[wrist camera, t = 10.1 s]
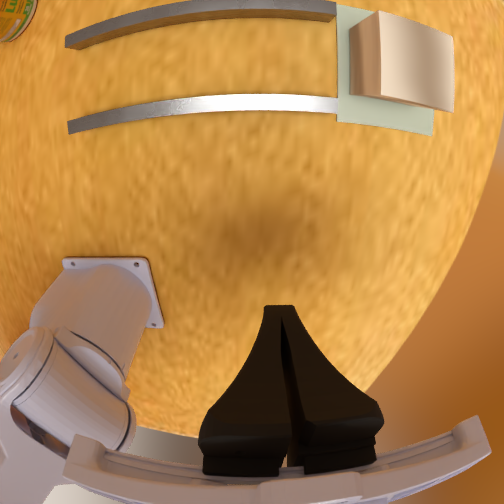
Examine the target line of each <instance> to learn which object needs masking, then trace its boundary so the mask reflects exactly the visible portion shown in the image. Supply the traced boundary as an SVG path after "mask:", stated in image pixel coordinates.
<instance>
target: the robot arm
mask: <svg viewBox="0 0 504 504" xmlns="http://www.w3.org/2000/svg"><path fill="white" fill-rule="evenodd" d="M73 262H74V263H75V264H74V263H73ZM135 262H137V263H139V265H137V264H136V263H135ZM62 264H63V267H64V270H63V271H62V272H61V273H60V275H59V276H58V277H57V278H56V279H55V281H54V282H53V283H52V284H51V285H50V287H49V288H48V289H47V290H46V292H45V293H44V294H43V295H42V297H41V298H40V299H39V301H38V302H37V303H36V305H35V306H34V308H33V311H32V314H31V318H30V325H29V329H28V330H27V331H25V332H24V333H23V334H22V335H21V336H20V337H19V338H18V339H17V340H16V341H15V342H14V343H13V344H12V345H11V347H10V348H9V349H8V351H7V352H6V354H5V355H4V357H3V358H2V360H1V362H0V504H42V503H43V502H44V500H45V499H46V498H47V496H48V495H49V493H50V492H51V491H52V489H53V488H54V486H56V485H63V484H76V485H78V486H80V487H82V488H84V489H86V490H88V491H90V492H93V493H96V494H99V495H102V496H104V497H107V498H110V499H113V500H117V501H120V502H123V503H126V504H388V502H391V501H394V500H397V499H400V498H403V497H406V496H408V495H411V494H414V493H417V492H419V491H421V490H424V489H426V488H429V487H431V486H433V485H436V484H438V483H440V482H442V481H445V480H446V479H449V478H451V477H453V476H455V475H457V474H459V473H461V472H463V471H464V470H466V469H468V468H469V467H471V466H473V465H474V464H476V463H477V462H479V461H480V460H482V459H483V458H485V457H486V456H487V455H489V454H490V453H491V449H490V446H489V443H488V440H487V438H486V435H485V432H484V430H483V427H482V425H481V422H480V420H479V417H478V415H476V416H473V417H471V418H469V419H467V420H464V421H462V422H461V423H459V424H458V425H456V426H455V427H454V428H453V429H452V430H451V431H449V432H446V433H444V434H441V435H439V436H436V437H433V438H430V439H428V440H425V441H422V442H419V443H415V444H412V445H409V446H406V447H402V448H399V449H395V450H392V451H388V452H384V453H380V454H376V453H375V449H374V445H375V444H376V441H375V437H374V436H375V435H376V434H377V432H378V431H379V430H380V429H381V428H382V426H383V424H384V418H383V415H382V412H381V410H380V408H379V405H378V404H377V401H375V400H374V399H372V398H370V397H369V396H368V395H366V394H365V393H363V392H362V391H361V390H359V389H358V388H357V387H355V386H354V385H353V384H352V383H351V382H350V381H348V380H347V379H346V378H345V377H344V376H343V375H342V374H341V373H340V372H339V371H338V370H337V369H336V368H335V367H334V366H333V365H332V364H331V363H330V362H329V361H328V359H327V358H326V357H325V356H324V355H323V353H322V352H321V351H320V349H319V348H318V347H317V345H316V344H315V343H314V341H313V340H312V338H311V337H310V335H309V334H308V332H307V330H306V329H305V327H304V325H303V324H302V322H301V320H300V318H299V316H298V314H297V312H296V310H295V307H294V306H293V305H266V306H265V307H264V314H263V319H262V323H261V327H260V330H259V333H258V336H257V338H256V341H255V343H254V345H253V348H252V350H251V352H250V354H249V356H248V358H247V360H246V362H245V363H244V365H243V367H242V369H241V370H240V372H239V373H238V375H237V376H236V378H235V379H234V381H233V382H232V383H231V385H230V386H229V387H228V389H227V390H226V391H225V392H224V394H223V395H222V396H221V397H220V398H219V399H218V400H217V402H216V403H215V404H214V405H213V406H212V407H211V408H210V409H209V410H208V412H207V414H206V416H205V418H204V420H203V422H202V425H201V428H200V432H199V439H198V446H199V447H200V449H201V451H202V453H203V455H204V457H203V466H199V465H189V464H181V463H173V462H168V461H162V460H156V459H150V458H145V457H141V456H136V455H131V454H127V453H125V452H126V451H127V450H128V449H129V447H130V445H131V443H132V441H133V438H134V436H135V432H136V415H135V412H134V409H133V408H132V406H131V405H130V404H129V403H128V402H127V400H128V397H129V394H130V389H129V388H128V387H127V386H126V385H125V380H126V377H127V375H128V372H129V369H130V366H131V363H132V361H133V358H134V355H135V352H136V350H137V347H138V344H139V342H140V339H141V336H142V334H143V331H144V329H145V327H146V328H163V327H164V320H163V317H162V313H161V310H160V306H159V303H158V299H157V295H156V291H155V288H154V284H153V280H152V276H151V271H150V267H149V263H148V261H147V260H146V259H145V258H64V259H63V260H62ZM154 323H155V324H154ZM286 454H287V467H284V468H281V466H282V464H283V460H284V457H286ZM227 484H238V485H236V486H228V485H227Z"/></svg>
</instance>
